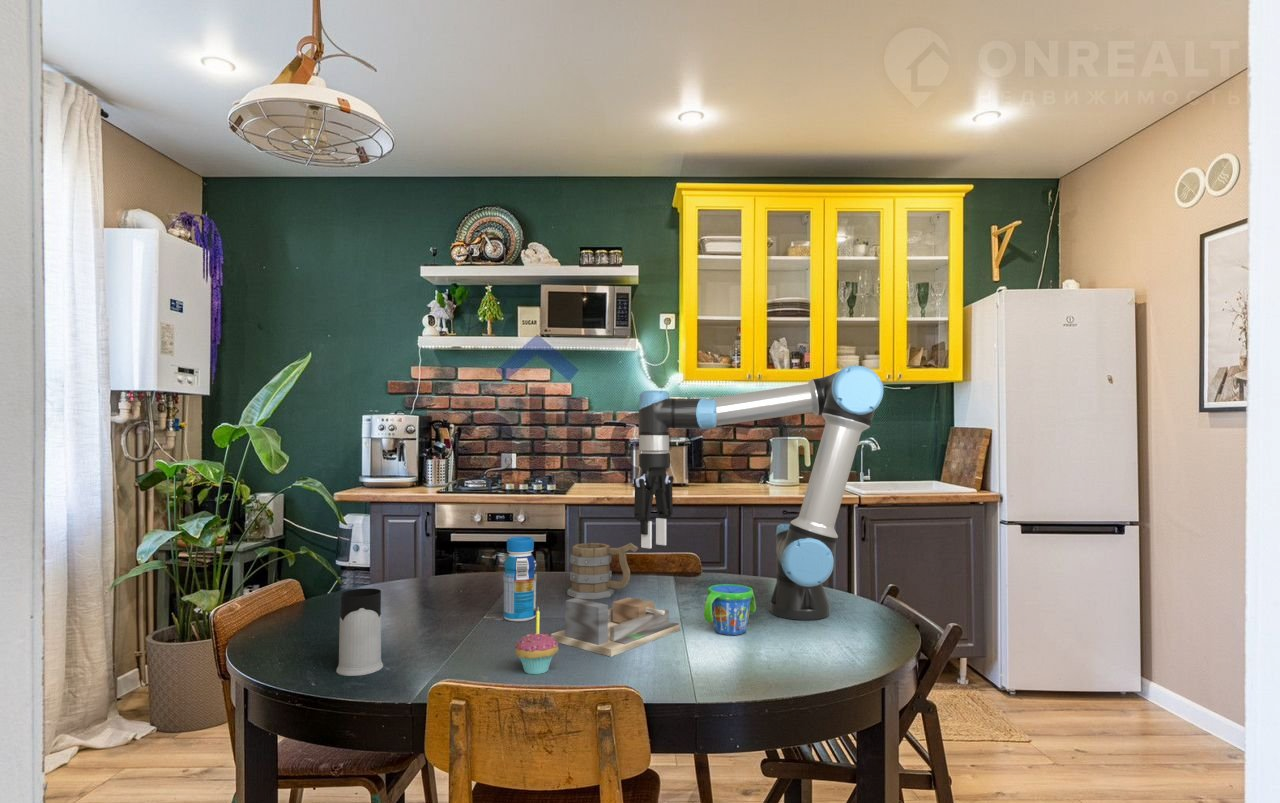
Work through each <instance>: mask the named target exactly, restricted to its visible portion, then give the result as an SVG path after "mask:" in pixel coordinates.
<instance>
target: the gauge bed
mask: <svg viewBox="0 0 1280 803" xmlns="http://www.w3.org/2000/svg"><path fill="white" fill-rule="evenodd" d="M564 605H565V606H564V608H565V610H564V611H565V612H564V613H565V615H564V623H565V625H564V627H565V628H564V629H563V630H559V631H556V632H553V633H550V636H552V637H553V638H555V640H556V641H557V643H558V644H563V645H564V646H565V645H566V646H570V647H573V648H577V649H581V650H584V651H587V652H592V653H596V654H600V655H604V656H608V657H610V658H612V657H614V656H617V655H620V654H621V653H625V652H627V651H629V650H633V649H635V648H637V647H640V646H643V645H646V644H648V643H651V642H653V641H655V640H658V639H661V638H664V637H666V636H668V635H671V634H674V633H676V632H679V631H681V624H680V623H677V622H674V621H670V620H669V618H670V617H669V616H670V612H669V609H667V608H663V609H661V610H663V611H665V614H664V615H660V614H655V613H650V614H647V615H644V616H641V617H638V618H635V619H632V620H629V621H626V622H623V623H618V622H613V606H612V607H609V605H608V604H605V603H600V602H596V601H592V600H588V599H577V598H573V597H572V598H569V599H566V600H565V604H564Z"/></svg>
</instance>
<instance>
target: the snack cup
mask: <svg viewBox="0 0 1280 803" xmlns="http://www.w3.org/2000/svg"><path fill="white" fill-rule="evenodd" d="M707 594H708V596H707V598H706V600H705V604H704V611H703V618H704V621H706V622H707V623H709V624H712V623H713V627H714V630H715V631H716V632H717V633H718V634H720V635H726V636H738V635H742V634H745V633H747V628H748V622H749V618H750V613H751V614H754V613H755V612H756V609H757V606H756V598H755V595H754V590H753V588H752V587H750V586H746V585H742V584H731V583H729V584H728V583H724V584H715V585H711V586H709V587H708V588H707Z"/></svg>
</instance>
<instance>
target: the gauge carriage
mask: <svg viewBox="0 0 1280 803" xmlns="http://www.w3.org/2000/svg"><path fill="white" fill-rule="evenodd" d="M612 607H613V622H618V623H623V622H626V621H629V620H632V619H635V618H638V617H641V616H644V615H647V614H650V613H655V614H660V615H664V614H665V611H663V610H662V609H657V608H655V602H654V601H649V600H645V599H640V598H633V597H629V596H628V597H624V598H621V599H618V600H615V601H612Z"/></svg>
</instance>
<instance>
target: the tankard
mask: <svg viewBox="0 0 1280 803" xmlns="http://www.w3.org/2000/svg"><path fill="white" fill-rule="evenodd" d="M638 549H639V547H638V546H637V545H635V544H633V543H632V542H629V543H627V544H625V545H623V546H621V547H620V546H619V547H610V545H609V544H606V543H599V542H596V543H595V542H589V543H588V542H585V543H577V544H575V545H573V546H572V549H571V550H572V553H571V554H570V556H569V564H571V565H572V567H571V569H572V570H571V571H570V573H569V580H570V581H571V586H570V587H569V588H568V589H567V590H566V593H567V596H568V595H569V596H568V597H571V598H573V597H574V598H577V599H582V600H590V599H591V600H590V601H592V600H594V601H595V600H600V599H607V598H610V597H611V596H613V595H614V593H615V589H616V590H617V589H624V588H626V587H627V585H628V583H629V582H630V580H631V570H630V567H629V564H628V559H627V552H629V551H631V552H632V553H636V552H637V550H638ZM613 555H618V563H619V567H620V569H621V573H622V578H621V580H618V581H617V580H612V577H613V576H612V574H613V573H612V572H613V571H612V569H611V568H610V564H611V563H612V561H613V560H612V559H613V558H612V557H613Z"/></svg>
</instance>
